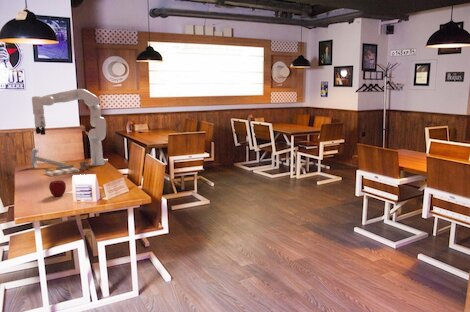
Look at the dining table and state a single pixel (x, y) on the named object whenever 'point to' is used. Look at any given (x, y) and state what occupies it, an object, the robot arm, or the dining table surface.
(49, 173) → the board
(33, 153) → the hammer
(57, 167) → the rail
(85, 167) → the brown block with stick
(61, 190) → the apple
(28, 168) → the dining table surface
